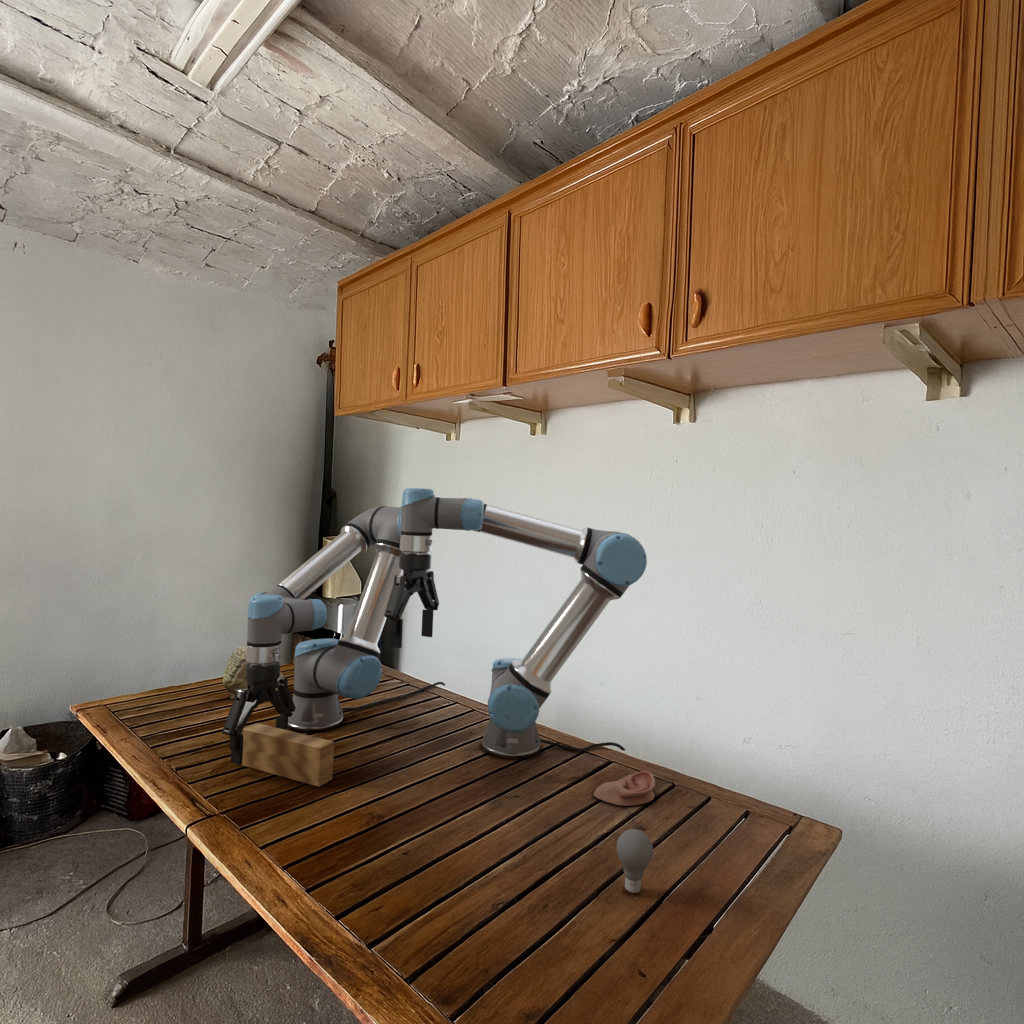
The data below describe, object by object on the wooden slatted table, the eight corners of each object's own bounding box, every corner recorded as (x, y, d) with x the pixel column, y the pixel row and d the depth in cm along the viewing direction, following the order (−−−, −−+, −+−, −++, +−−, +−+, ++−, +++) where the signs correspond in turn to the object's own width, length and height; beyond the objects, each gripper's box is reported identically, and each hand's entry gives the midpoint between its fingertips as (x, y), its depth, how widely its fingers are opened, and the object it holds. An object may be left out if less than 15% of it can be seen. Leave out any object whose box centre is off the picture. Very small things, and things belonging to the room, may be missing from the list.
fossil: (218, 695, 195) (220, 647, 195) (278, 685, 208) (279, 640, 207) (228, 703, 189) (230, 653, 188) (289, 692, 201) (290, 645, 201)
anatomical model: (593, 783, 136) (596, 762, 147) (592, 802, 136) (596, 779, 148) (656, 792, 134) (655, 770, 145) (655, 810, 134) (654, 787, 145)
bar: (240, 765, 147) (242, 728, 147) (255, 758, 152) (257, 722, 151) (319, 787, 138) (320, 748, 138) (332, 779, 142) (334, 741, 142)
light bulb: (610, 879, 108) (613, 822, 108) (644, 879, 109) (647, 822, 109) (619, 902, 102) (622, 840, 102) (655, 901, 103) (658, 840, 103)
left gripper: (232, 676, 135) (228, 776, 135) (312, 653, 157) (308, 739, 158) (206, 671, 138) (202, 768, 138) (289, 649, 160) (285, 733, 161)
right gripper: (399, 557, 138) (395, 654, 138) (454, 551, 161) (451, 634, 161) (370, 554, 141) (367, 649, 141) (429, 548, 164) (425, 630, 164)
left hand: (259, 753), depth 148 cm, fingers open, 13 cm apart
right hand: (411, 641), depth 151 cm, fingers open, 13 cm apart
